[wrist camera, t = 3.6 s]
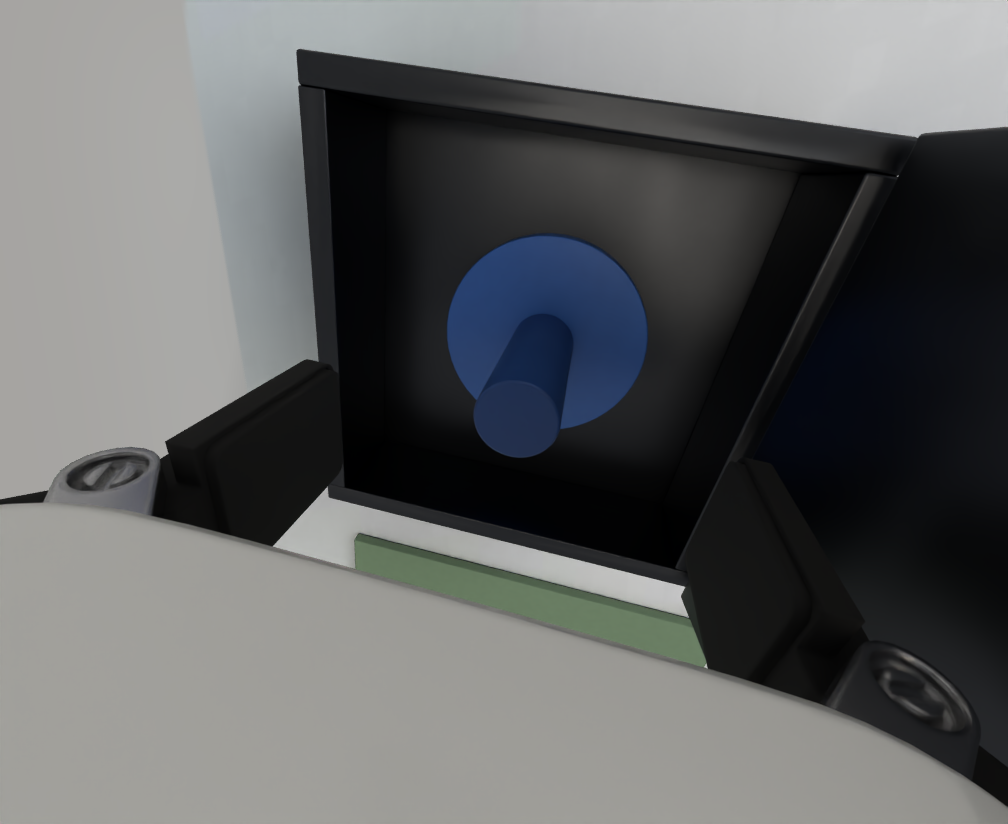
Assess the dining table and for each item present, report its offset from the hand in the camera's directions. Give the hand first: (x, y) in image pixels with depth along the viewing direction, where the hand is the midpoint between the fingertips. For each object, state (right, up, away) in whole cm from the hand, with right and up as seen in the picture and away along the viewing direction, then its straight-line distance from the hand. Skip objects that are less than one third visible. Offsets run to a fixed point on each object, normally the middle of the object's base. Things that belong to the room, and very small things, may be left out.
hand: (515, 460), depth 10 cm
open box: (+2, +5, +8) cm, 10 cm away
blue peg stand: (+1, +4, +8) cm, 9 cm away
